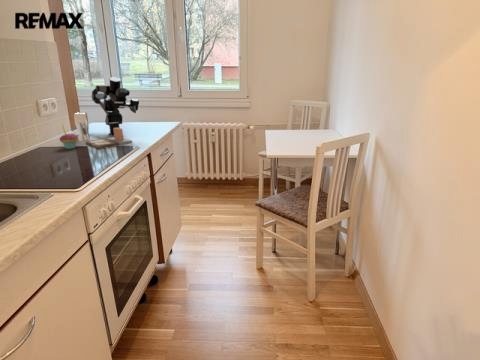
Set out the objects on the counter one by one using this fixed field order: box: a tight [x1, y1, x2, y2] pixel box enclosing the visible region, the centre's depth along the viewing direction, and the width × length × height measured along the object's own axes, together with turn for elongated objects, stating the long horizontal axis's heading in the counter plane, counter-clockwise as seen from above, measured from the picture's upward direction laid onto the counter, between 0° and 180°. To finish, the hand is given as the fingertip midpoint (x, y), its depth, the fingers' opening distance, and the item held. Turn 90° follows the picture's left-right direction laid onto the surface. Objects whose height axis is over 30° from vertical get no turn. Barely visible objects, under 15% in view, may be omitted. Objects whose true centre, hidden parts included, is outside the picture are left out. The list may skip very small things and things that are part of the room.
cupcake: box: [59, 124, 79, 150], centre depth 169 cm, size 9×8×12 cm
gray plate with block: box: [106, 128, 133, 147], centre depth 181 cm, size 16×7×8 cm, turn 43°
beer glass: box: [73, 112, 91, 142], centre depth 186 cm, size 7×7×15 cm
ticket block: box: [85, 138, 119, 150], centre depth 176 cm, size 16×11×2 cm
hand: (127, 112), depth 178 cm, fingers open, 9 cm apart
